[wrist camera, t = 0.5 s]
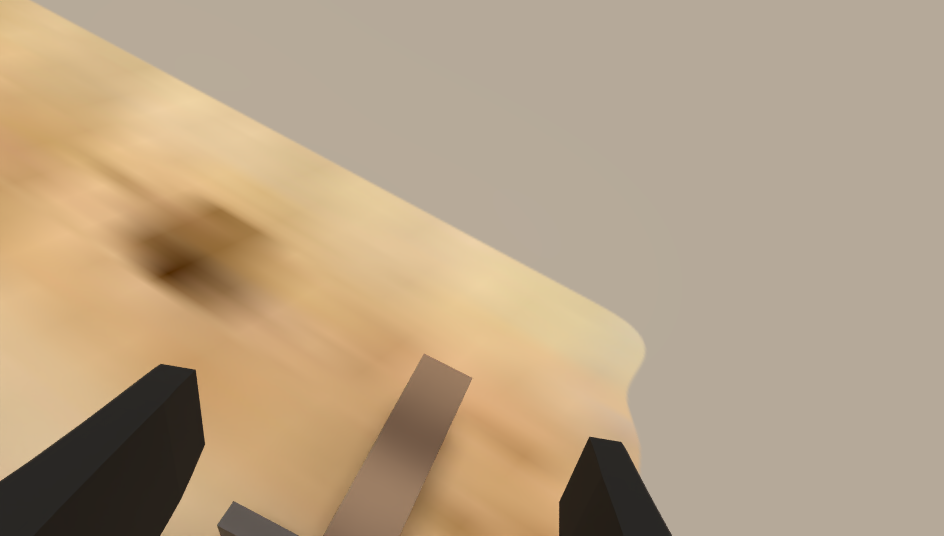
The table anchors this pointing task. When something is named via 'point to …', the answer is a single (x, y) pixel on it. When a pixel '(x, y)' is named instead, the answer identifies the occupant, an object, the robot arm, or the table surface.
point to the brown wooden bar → (384, 461)
